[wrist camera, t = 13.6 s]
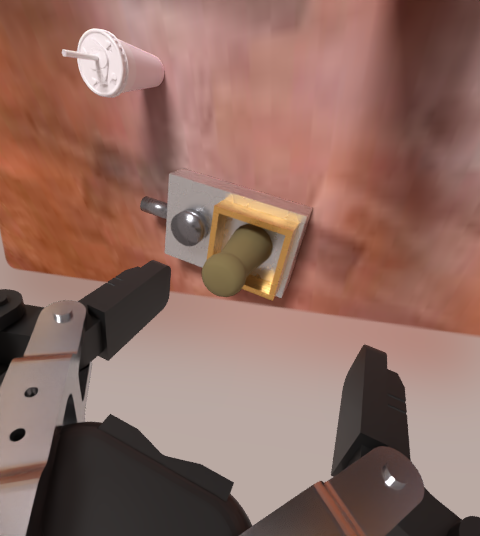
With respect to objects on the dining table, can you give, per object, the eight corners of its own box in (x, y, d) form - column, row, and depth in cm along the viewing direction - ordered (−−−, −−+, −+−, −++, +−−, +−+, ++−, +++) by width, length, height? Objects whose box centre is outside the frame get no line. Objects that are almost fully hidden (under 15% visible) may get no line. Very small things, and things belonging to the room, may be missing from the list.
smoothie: (166, 36, 39) (78, 10, 28) (177, 94, 42) (100, 91, 31) (127, 48, 42) (31, 27, 30) (140, 101, 44) (56, 101, 33)
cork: (224, 243, 45) (184, 278, 36) (248, 214, 41) (211, 246, 32) (254, 271, 45) (222, 314, 36) (281, 245, 42) (253, 285, 33)
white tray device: (155, 159, 48) (125, 167, 42) (312, 207, 42) (301, 224, 36) (153, 234, 55) (126, 250, 49) (288, 285, 49) (275, 309, 43)
